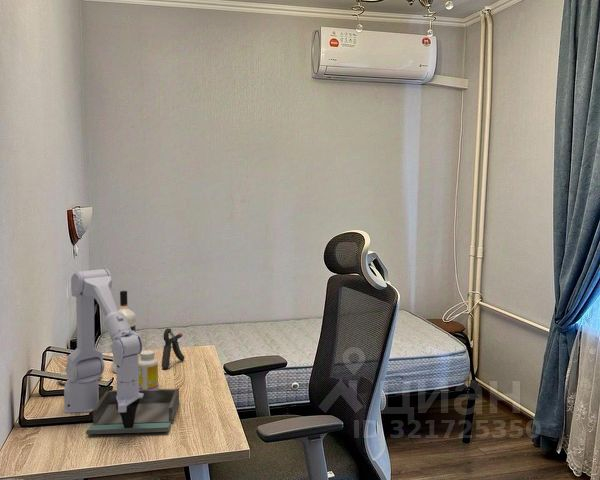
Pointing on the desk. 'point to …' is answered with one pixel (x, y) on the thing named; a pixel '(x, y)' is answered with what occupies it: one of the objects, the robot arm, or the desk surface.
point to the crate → (139, 407)
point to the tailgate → (135, 429)
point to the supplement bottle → (148, 370)
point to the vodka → (129, 316)
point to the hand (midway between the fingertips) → (128, 427)
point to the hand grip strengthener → (168, 348)
